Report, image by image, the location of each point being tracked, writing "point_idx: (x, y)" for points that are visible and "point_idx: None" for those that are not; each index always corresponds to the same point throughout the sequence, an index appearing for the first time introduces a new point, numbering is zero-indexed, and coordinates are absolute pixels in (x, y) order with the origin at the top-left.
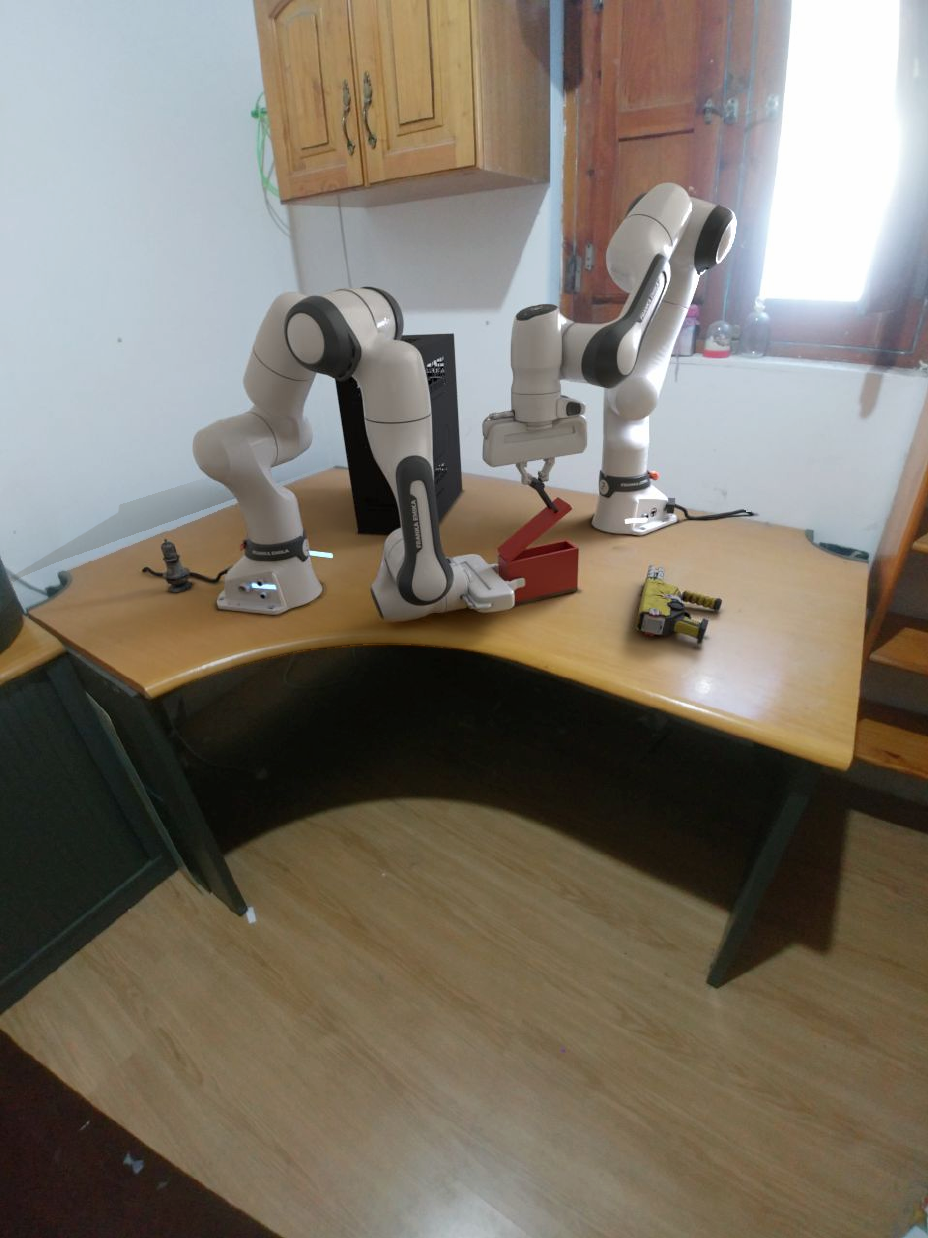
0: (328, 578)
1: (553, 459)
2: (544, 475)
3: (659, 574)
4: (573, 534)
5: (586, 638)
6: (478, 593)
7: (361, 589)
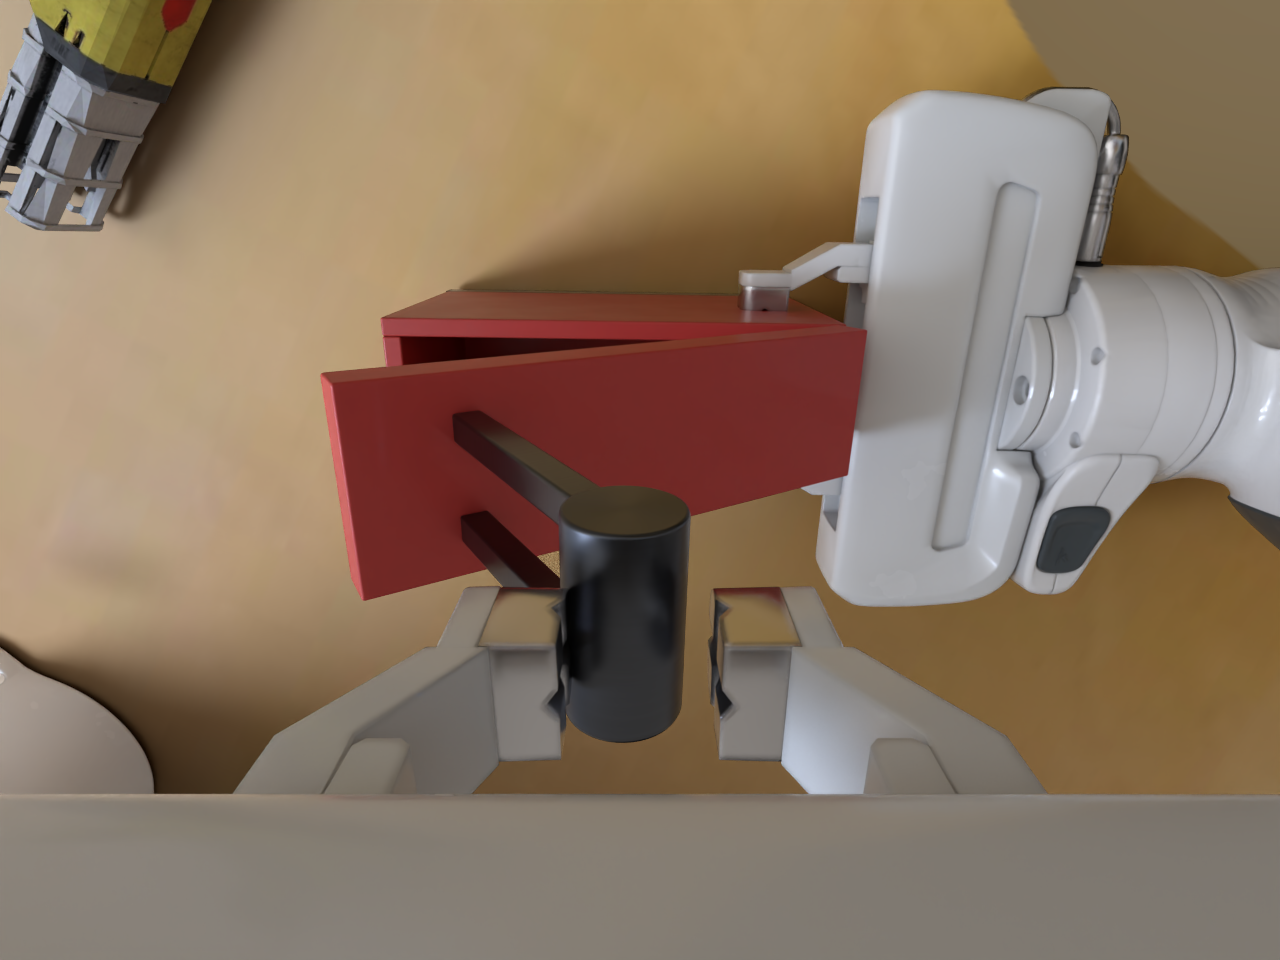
0: (1250, 789)
1: (266, 788)
2: (520, 624)
3: (16, 97)
4: (260, 753)
5: None
6: (1081, 170)
7: (1200, 671)
